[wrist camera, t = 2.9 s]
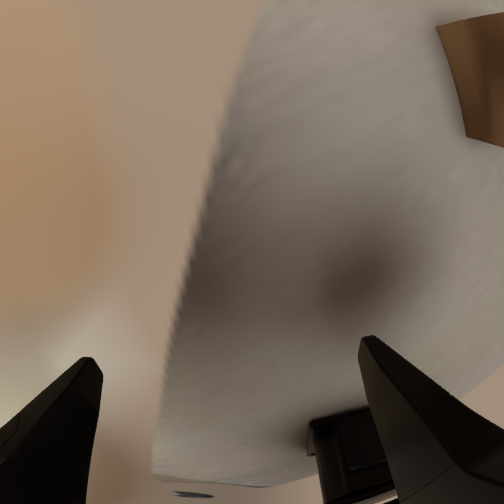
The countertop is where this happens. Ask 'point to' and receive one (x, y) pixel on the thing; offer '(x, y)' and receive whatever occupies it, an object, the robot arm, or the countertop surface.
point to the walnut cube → (478, 73)
